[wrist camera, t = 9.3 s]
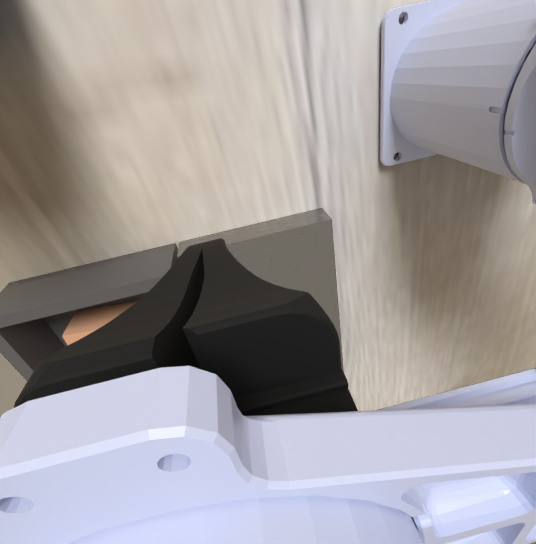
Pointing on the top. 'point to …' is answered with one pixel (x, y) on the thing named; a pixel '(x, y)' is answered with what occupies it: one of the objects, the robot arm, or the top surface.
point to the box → (71, 301)
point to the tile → (92, 320)
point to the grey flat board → (288, 255)
